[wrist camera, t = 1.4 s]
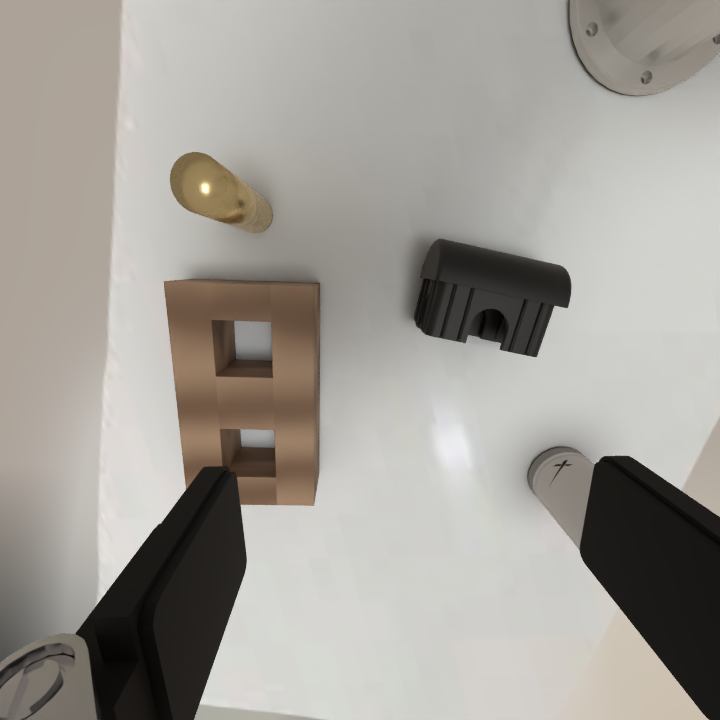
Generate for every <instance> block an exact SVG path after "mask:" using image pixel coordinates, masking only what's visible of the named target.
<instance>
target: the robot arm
mask: <svg viewBox="0 0 720 720" xmlns="http://www.w3.org/2000/svg"><path fill="white" fill-rule="evenodd" d="M570 25H571V31H572V37H573V41H574V44H575V47H576V49H577V52H578V55H579V57H580V59H581V60H582V62H583V64H584V65H585V67H586V69H587V70H588V71H589V72H590V73H591V74H592V75H593V77H594V78H595V79H596V80H597V81H599V82H600V83H602V84H603V85H605V86H606V87H608V88H609V89H611V90H614V91H617V92H619V93H622V94H628V95H637V96H640V95H648V94H655V93H658V92H661V91H664V90H667V89H670V88H671V87H673V86H675V85H677V84H679V83H681V82H683V81H685V80H687V79H688V78H689V77H691V76H692V75H694V74H695V73H697V72H698V71H700V70H701V69H702V68H704V67H705V66H706V65H707V64H708V63H709V62H710V61H711V60H712V59H713V58H714V57H715V56H716V55H717V54H718V53H719V51H720V0H570ZM580 554H581V557H582V559H583V561H584V563H585V564H586V566H587V567H588V568H589V569H590V571H591V572H592V573H593V574H594V576H595V577H596V578H597V580H598V581H599V582H600V583H601V585H602V586H603V587H604V588H605V590H606V591H607V592H608V594H609V595H610V596H611V597H612V599H613V600H614V601H615V602H616V604H617V605H618V606H619V607H620V609H621V610H622V611H623V613H624V614H625V615H626V616H627V618H628V619H629V620H630V621H631V623H632V624H633V625H634V627H635V628H636V629H637V630H638V631H639V632H640V634H641V635H642V637H643V638H644V639H645V641H646V642H647V643H648V644H649V646H650V647H651V648H652V649H653V651H654V652H655V653H656V654H657V656H658V657H659V658H660V660H661V661H662V662H663V663H664V665H665V666H666V667H667V668H668V670H669V671H670V672H671V673H672V675H673V676H674V677H675V679H676V680H677V681H678V682H679V684H680V685H681V686H682V687H683V688H684V690H685V691H686V693H687V694H688V695H689V696H690V698H691V699H692V700H693V701H694V703H695V704H696V705H697V706H698V708H699V709H700V710H701V712H702V713H703V714H704V715H705V716H706V717H707V718H708V719H709V720H720V517H719V516H717V515H716V514H714V513H712V512H711V511H710V510H708V509H707V508H706V507H704V506H702V505H701V504H699V503H698V502H697V501H695V500H694V499H692V498H690V497H689V496H688V495H686V494H685V493H683V492H682V491H681V490H679V489H678V488H676V487H675V486H673V485H672V484H670V483H669V482H667V481H666V480H664V479H663V478H661V477H660V476H658V475H657V474H655V473H654V472H653V471H651V470H650V469H648V468H647V467H645V466H644V465H642V464H641V463H639V462H638V461H636V460H635V459H633V458H632V457H629V456H604V457H602V458H601V459H600V461H599V462H598V463H596V464H595V465H594V469H593V474H592V480H591V486H590V491H589V497H588V502H587V508H586V514H585V519H584V525H583V530H582V536H581V542H580ZM246 562H247V557H246V548H245V540H244V532H243V523H242V515H241V506H240V498H239V490H238V481H237V475H236V472H230V470H229V468H228V467H227V466H208V467H203V468H202V469H201V470H200V472H199V473H198V475H197V476H196V477H195V479H194V480H193V481H192V483H191V484H190V485H189V487H188V488H187V489H186V491H185V492H184V493H183V495H182V496H181V497H180V499H179V500H178V502H177V503H176V504H175V506H174V507H173V508H172V510H171V511H170V512H169V514H168V515H167V516H166V518H165V519H164V520H163V522H162V523H161V524H159V525H158V526H157V527H156V528H155V529H154V530H153V531H152V533H151V534H150V535H149V537H148V538H147V539H146V541H145V542H144V543H143V545H142V546H141V547H140V549H139V550H138V551H137V553H136V554H135V555H134V557H133V558H132V559H131V561H130V562H129V563H128V564H127V566H126V567H125V568H124V570H123V571H122V572H121V574H120V575H119V576H118V578H117V579H116V580H115V582H114V583H113V584H112V586H111V587H110V588H109V590H108V591H107V592H106V594H105V595H104V596H103V598H102V599H101V600H100V602H99V603H98V604H97V606H96V607H95V608H94V610H93V611H92V612H91V614H90V615H89V616H88V618H87V619H86V620H85V622H84V623H83V624H82V626H81V627H80V629H79V630H78V631H77V632H76V634H63V633H62V634H57V635H53V636H48V637H45V638H43V639H40V640H38V641H35V642H33V643H31V644H29V645H27V646H25V647H23V648H22V649H20V650H18V651H17V652H15V653H13V654H12V655H10V656H8V657H7V658H6V659H4V660H3V661H2V662H1V663H0V720H194V718H195V715H196V712H197V709H198V706H199V703H200V700H201V697H202V695H203V692H204V689H205V686H206V683H207V680H208V677H209V674H210V672H211V669H212V666H213V663H214V660H215V657H216V654H217V651H218V649H219V646H220V643H221V640H222V637H223V634H224V631H225V628H226V626H227V623H228V620H229V617H230V614H231V611H232V608H233V606H234V603H235V600H236V597H237V594H238V591H239V588H240V585H241V583H242V580H243V577H244V574H245V570H246Z"/></svg>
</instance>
